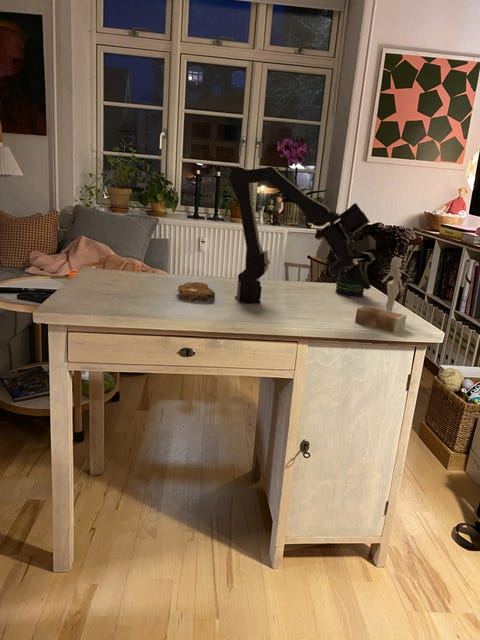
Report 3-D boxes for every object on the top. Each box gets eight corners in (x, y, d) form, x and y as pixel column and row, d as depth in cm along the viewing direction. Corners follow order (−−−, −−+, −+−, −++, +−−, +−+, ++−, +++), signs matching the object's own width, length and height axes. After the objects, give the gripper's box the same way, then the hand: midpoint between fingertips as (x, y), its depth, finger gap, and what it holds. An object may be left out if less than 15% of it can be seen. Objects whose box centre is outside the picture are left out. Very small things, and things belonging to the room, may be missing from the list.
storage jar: (369, 296, 177) (376, 253, 172) (350, 298, 171) (357, 254, 166) (347, 289, 184) (353, 248, 180) (329, 291, 178) (335, 249, 174)
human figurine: (403, 322, 146) (414, 261, 141) (391, 322, 145) (402, 260, 140) (383, 311, 157) (393, 254, 152) (372, 311, 156) (382, 253, 151)
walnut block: (357, 309, 141) (398, 319, 134) (365, 305, 145) (406, 315, 139) (354, 322, 142) (396, 333, 135) (363, 319, 147) (403, 329, 140)
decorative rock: (174, 291, 160) (180, 305, 147) (174, 279, 159) (180, 292, 145) (209, 290, 163) (219, 304, 149) (209, 278, 162) (219, 291, 148)
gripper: (345, 226, 132) (378, 276, 129) (374, 224, 146) (404, 269, 143) (315, 251, 139) (345, 299, 135) (345, 247, 153) (373, 290, 150)
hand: (368, 288), depth 141 cm, fingers closed
